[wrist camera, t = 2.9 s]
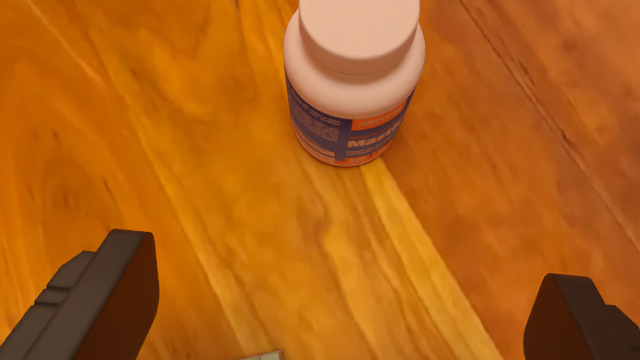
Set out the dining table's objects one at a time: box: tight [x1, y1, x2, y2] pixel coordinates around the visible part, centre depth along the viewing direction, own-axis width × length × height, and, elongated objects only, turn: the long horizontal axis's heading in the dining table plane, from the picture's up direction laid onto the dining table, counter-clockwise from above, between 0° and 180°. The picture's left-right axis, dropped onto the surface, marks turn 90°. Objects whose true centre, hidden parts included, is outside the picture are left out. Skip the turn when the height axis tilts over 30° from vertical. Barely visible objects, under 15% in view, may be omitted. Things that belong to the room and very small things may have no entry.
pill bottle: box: [283, 0, 425, 166], centre depth 22 cm, size 5×5×10 cm
